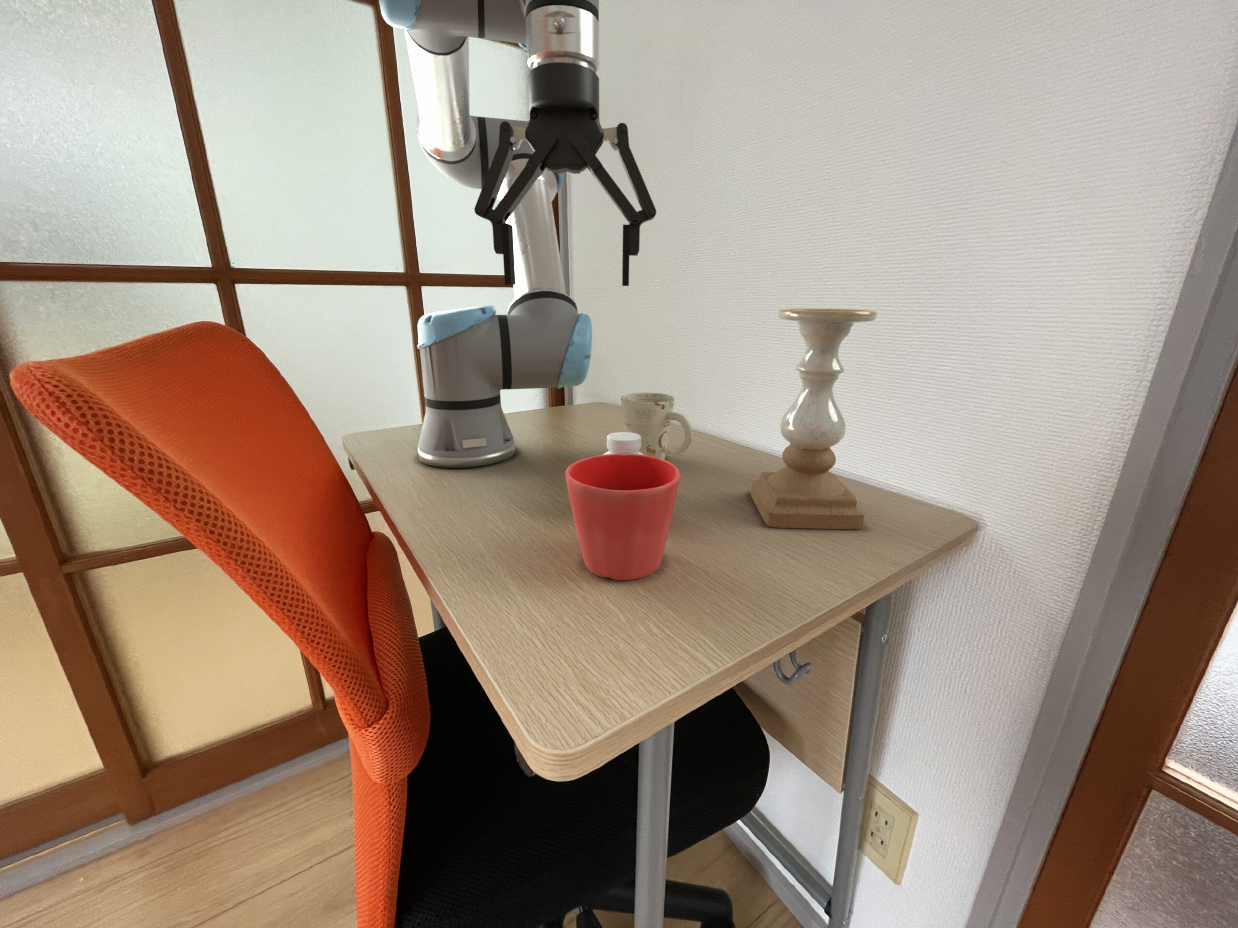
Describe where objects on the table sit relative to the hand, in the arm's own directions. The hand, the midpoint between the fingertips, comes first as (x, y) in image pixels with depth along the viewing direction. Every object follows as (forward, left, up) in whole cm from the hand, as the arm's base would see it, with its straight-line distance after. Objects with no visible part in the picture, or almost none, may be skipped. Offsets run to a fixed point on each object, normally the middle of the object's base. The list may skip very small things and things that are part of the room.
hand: (567, 285), depth 62 cm
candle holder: (+22, +20, -27) cm, 40 cm away
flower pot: (+19, -6, -27) cm, 33 cm away
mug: (-4, +19, -27) cm, 33 cm away
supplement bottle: (+10, +1, -27) cm, 28 cm away
